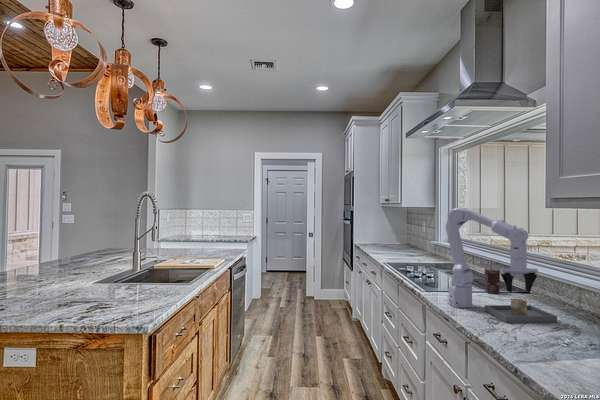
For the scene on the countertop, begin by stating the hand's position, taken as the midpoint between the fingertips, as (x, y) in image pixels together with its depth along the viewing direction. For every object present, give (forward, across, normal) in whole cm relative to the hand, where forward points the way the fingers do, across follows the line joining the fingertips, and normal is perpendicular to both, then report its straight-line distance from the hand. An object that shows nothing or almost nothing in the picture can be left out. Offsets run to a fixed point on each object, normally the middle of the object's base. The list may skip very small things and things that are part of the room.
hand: (518, 291), depth 150 cm
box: (+10, +11, +41) cm, 44 cm away
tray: (+10, 0, 0) cm, 10 cm away
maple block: (+9, 0, 0) cm, 9 cm away
